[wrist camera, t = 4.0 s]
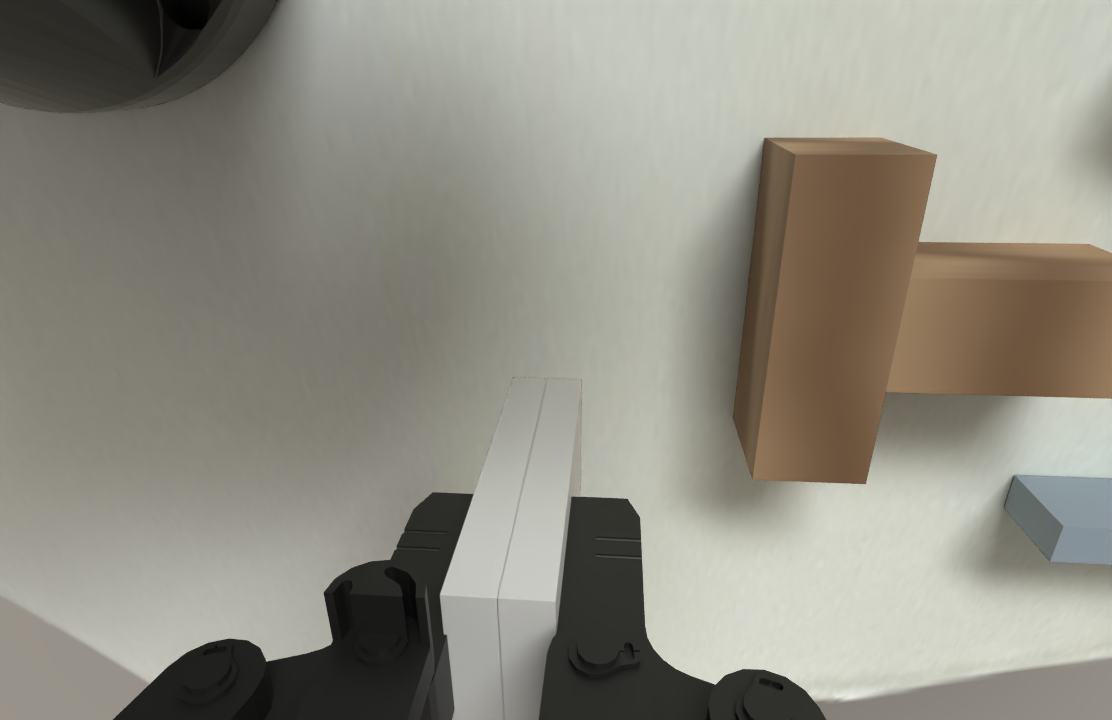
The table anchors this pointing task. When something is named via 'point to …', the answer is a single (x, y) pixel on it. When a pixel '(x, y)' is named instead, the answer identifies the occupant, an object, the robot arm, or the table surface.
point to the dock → (1065, 516)
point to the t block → (893, 309)
